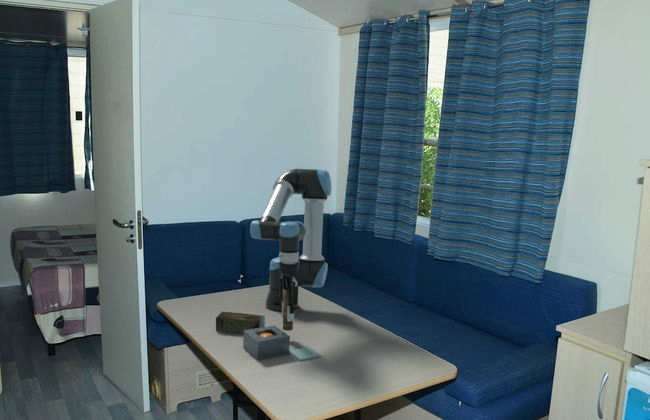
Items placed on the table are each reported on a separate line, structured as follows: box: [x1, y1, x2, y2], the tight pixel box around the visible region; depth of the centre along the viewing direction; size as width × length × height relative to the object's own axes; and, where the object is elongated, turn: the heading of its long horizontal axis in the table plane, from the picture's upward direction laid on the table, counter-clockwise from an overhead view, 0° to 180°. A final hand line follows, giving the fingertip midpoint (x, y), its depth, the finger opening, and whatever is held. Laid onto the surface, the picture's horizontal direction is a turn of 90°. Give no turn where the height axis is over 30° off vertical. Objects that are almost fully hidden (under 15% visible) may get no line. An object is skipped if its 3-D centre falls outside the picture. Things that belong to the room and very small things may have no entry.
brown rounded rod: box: [282, 289, 294, 332], centre depth 237 cm, size 4×4×16 cm
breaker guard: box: [242, 325, 291, 361], centre depth 225 cm, size 13×13×7 cm
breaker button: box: [260, 333, 273, 338], centre depth 225 cm, size 5×5×5 cm
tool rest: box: [289, 346, 322, 362], centre depth 223 cm, size 9×9×1 cm
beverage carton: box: [215, 311, 266, 334], centre depth 247 cm, size 8×19×7 cm, turn 81°
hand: (287, 318), depth 237 cm, fingers closed on brown rounded rod, 4 cm apart
